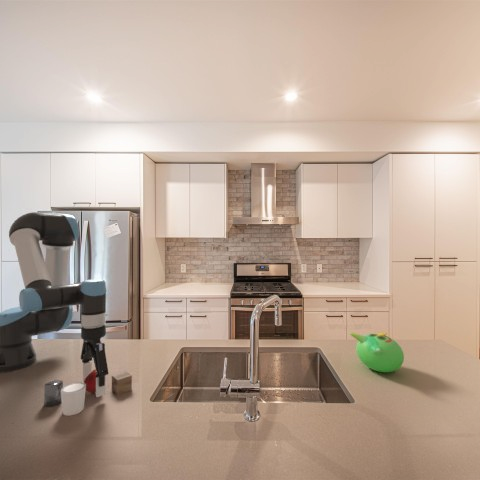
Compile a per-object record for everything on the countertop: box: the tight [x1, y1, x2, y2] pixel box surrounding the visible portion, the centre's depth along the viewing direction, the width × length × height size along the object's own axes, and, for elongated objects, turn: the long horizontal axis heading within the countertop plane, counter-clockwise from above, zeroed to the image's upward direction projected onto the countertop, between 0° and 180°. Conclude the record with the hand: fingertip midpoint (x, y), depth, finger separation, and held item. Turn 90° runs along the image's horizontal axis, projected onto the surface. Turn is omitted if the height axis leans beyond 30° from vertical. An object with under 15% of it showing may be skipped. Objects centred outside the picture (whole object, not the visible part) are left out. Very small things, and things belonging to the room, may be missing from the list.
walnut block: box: [111, 370, 133, 396], centre depth 101 cm, size 5×5×5 cm
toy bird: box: [349, 332, 405, 373], centre depth 117 cm, size 18×17×15 cm
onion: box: [84, 368, 97, 394], centre depth 98 cm, size 6×6×8 cm
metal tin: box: [43, 379, 64, 408], centre depth 92 cm, size 5×5×6 cm
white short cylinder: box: [61, 381, 87, 417], centre depth 88 cm, size 7×7×7 cm
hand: (93, 387), depth 98 cm, fingers open, 13 cm apart
